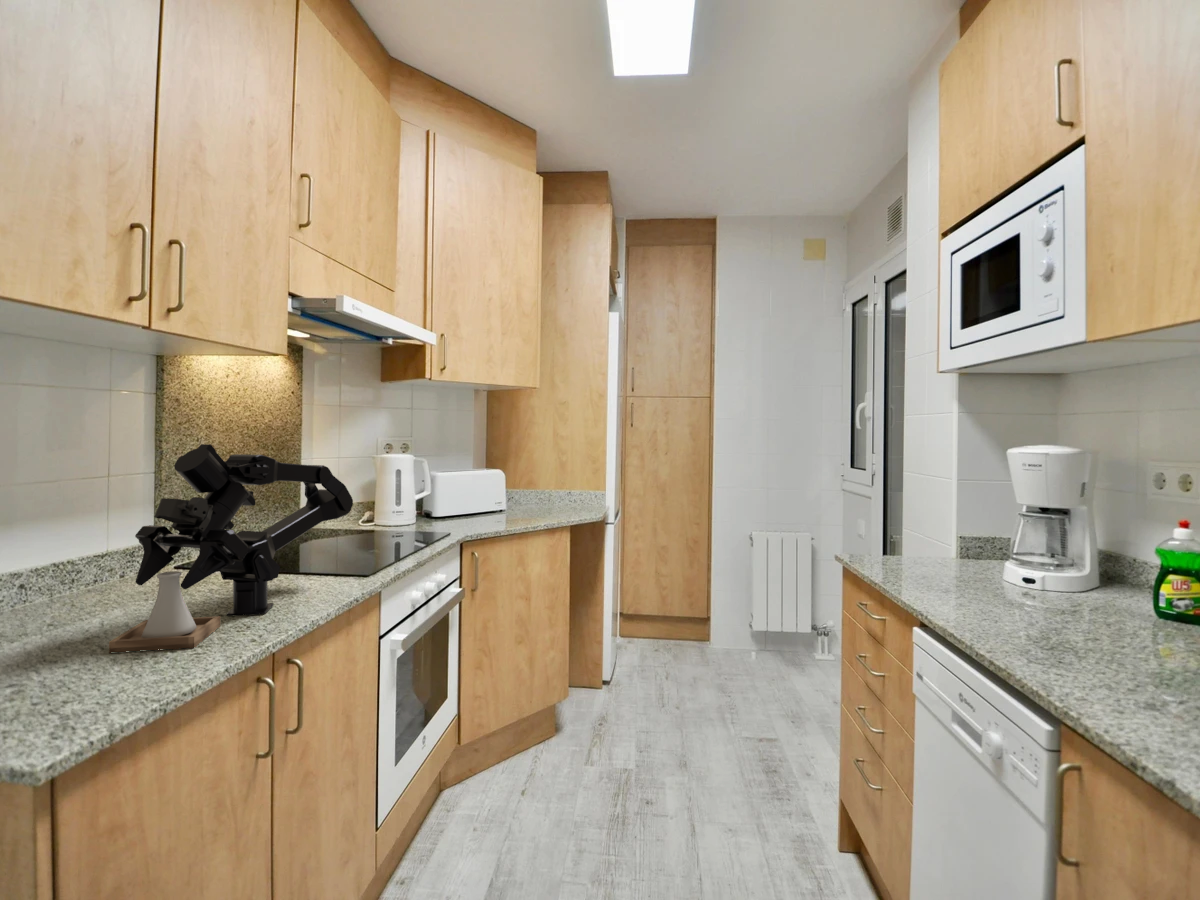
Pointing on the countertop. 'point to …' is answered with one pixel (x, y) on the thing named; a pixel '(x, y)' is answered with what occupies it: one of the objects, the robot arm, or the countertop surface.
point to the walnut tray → (135, 642)
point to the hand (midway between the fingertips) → (160, 585)
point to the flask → (169, 610)
